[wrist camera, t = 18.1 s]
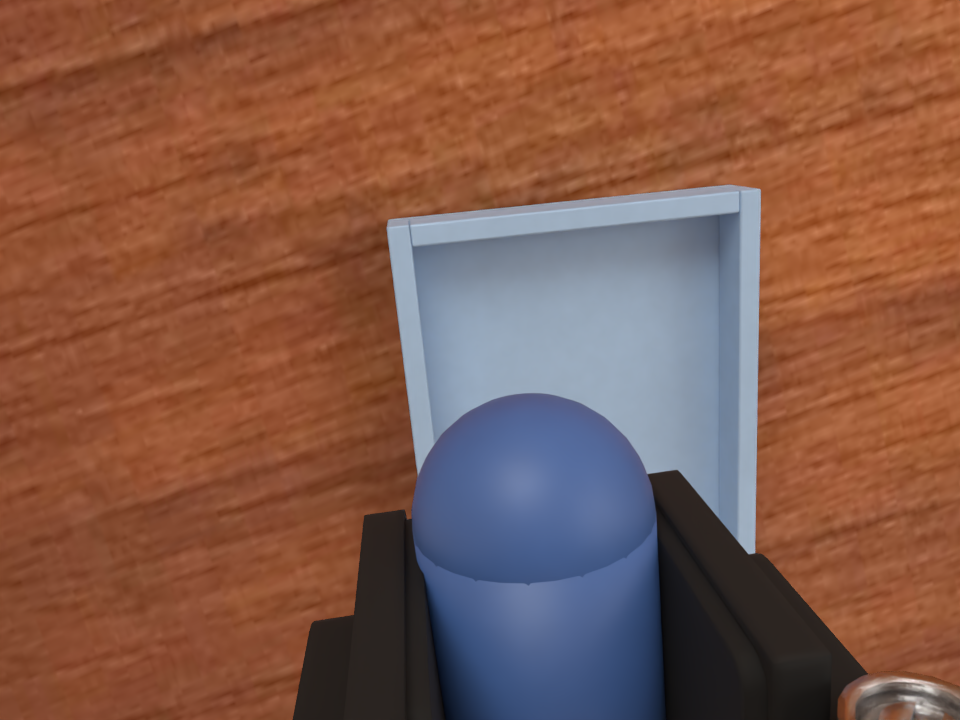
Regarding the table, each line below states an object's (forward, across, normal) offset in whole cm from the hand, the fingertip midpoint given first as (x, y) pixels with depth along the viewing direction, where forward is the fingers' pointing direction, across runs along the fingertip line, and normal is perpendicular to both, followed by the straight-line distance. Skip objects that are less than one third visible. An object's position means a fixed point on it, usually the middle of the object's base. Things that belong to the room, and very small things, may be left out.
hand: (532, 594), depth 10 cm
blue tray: (+13, -3, +4) cm, 14 cm away
